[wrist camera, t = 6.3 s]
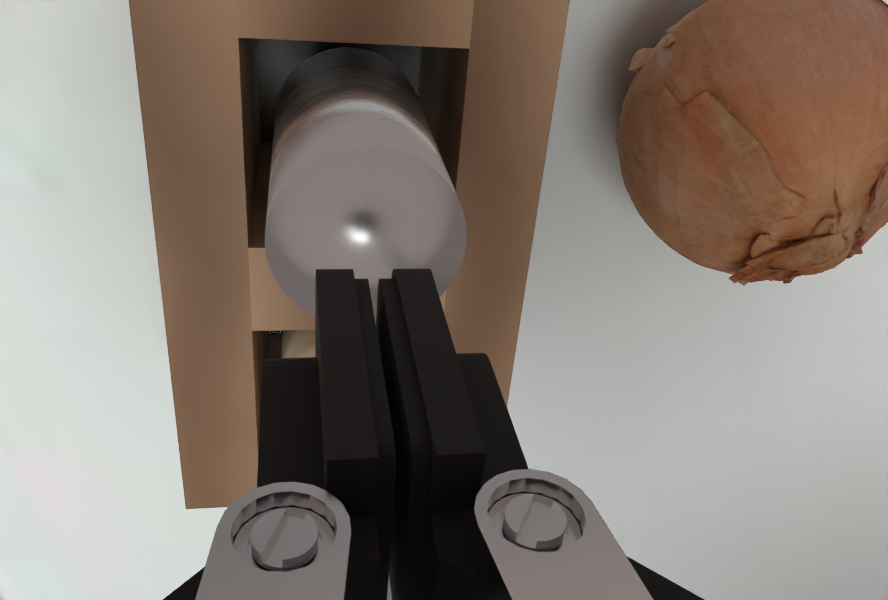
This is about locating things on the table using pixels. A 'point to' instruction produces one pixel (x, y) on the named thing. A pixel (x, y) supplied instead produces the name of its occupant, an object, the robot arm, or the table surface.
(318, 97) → the peg metal
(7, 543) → the table surface
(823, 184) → the onion
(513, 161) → the socket block
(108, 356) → the table surface
